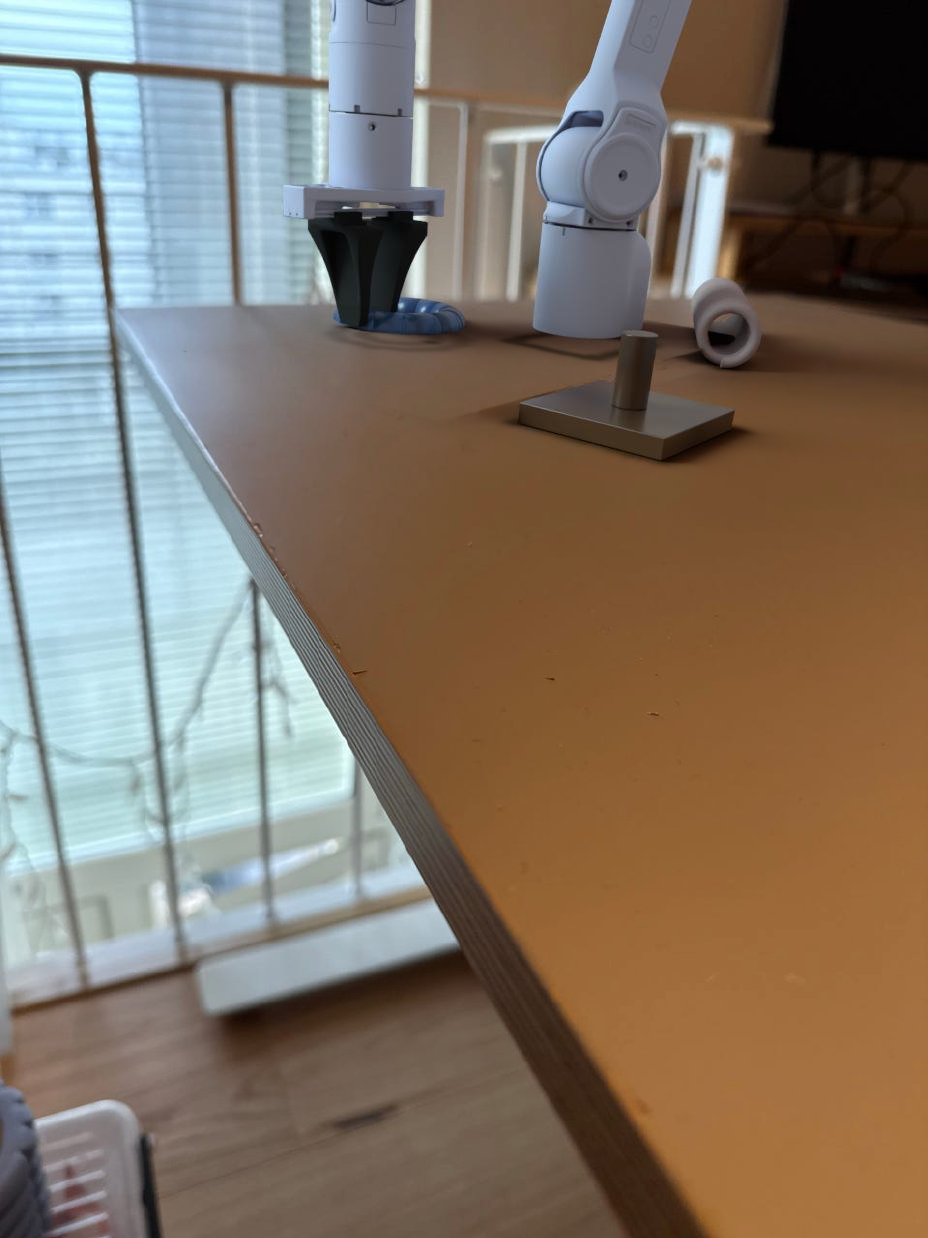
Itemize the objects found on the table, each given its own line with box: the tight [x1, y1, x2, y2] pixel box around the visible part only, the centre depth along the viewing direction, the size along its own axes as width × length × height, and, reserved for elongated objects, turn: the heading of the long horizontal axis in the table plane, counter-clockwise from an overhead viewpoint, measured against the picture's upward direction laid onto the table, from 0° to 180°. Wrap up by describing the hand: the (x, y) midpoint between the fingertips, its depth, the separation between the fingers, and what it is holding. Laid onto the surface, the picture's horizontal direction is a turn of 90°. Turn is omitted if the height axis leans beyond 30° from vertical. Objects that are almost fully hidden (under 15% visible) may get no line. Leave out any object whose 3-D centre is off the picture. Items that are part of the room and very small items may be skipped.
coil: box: [690, 276, 762, 369], centre depth 77 cm, size 5×5×18 cm
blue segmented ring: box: [332, 296, 466, 335], centre depth 72 cm, size 10×10×2 cm
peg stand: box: [517, 329, 736, 461], centre depth 52 cm, size 9×9×5 cm
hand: (367, 322), depth 69 cm, fingers closed on blue segmented ring, 2 cm apart
